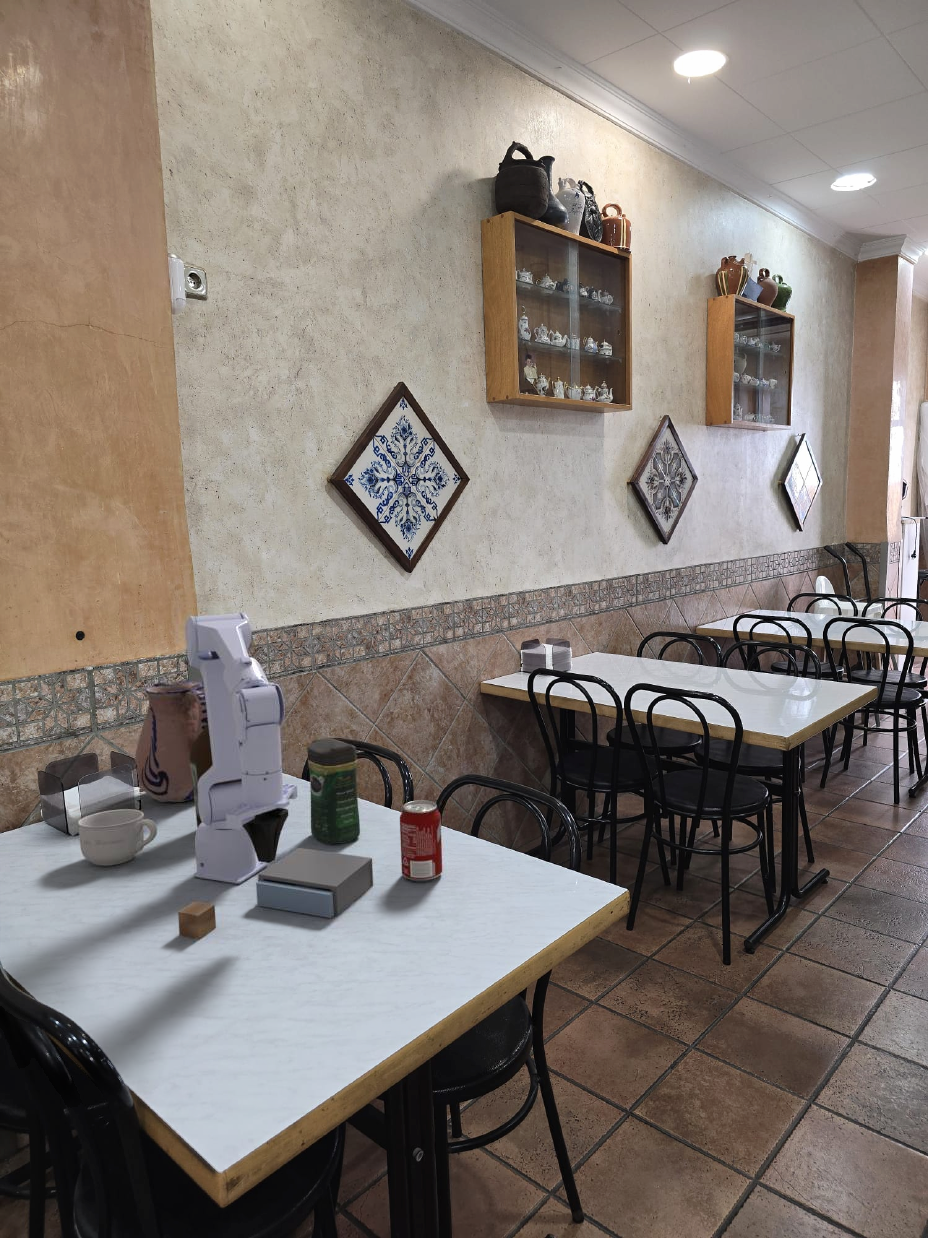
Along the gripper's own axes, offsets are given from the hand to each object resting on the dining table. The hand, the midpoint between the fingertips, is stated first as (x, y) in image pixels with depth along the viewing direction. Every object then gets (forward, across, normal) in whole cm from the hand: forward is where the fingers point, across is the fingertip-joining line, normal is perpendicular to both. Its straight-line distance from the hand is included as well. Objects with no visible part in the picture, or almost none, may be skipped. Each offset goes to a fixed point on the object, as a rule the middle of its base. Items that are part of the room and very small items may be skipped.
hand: (266, 860), depth 120 cm
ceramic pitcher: (+10, +44, +53) cm, 70 cm away
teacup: (+10, +12, +40) cm, 43 cm away
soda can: (+10, +23, -14) cm, 29 cm away
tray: (+10, +10, -1) cm, 14 cm away
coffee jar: (+10, +34, +9) cm, 37 cm away
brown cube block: (+10, -5, +9) cm, 14 cm away
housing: (+10, +11, -1) cm, 15 cm away
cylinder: (+9, +10, -1) cm, 14 cm away
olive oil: (+10, +30, +32) cm, 45 cm away
